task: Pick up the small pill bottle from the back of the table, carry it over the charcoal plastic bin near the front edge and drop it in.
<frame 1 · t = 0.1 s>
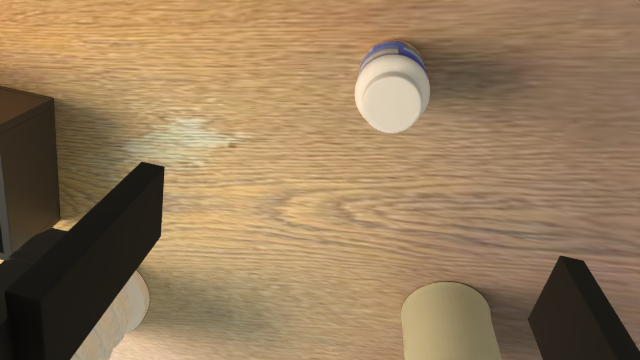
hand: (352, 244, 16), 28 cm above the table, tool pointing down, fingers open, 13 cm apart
can: (444, 315, 53), on the table
pill bottle: (391, 70, 42), on the table
decorative container: (100, 288, 56), on the table
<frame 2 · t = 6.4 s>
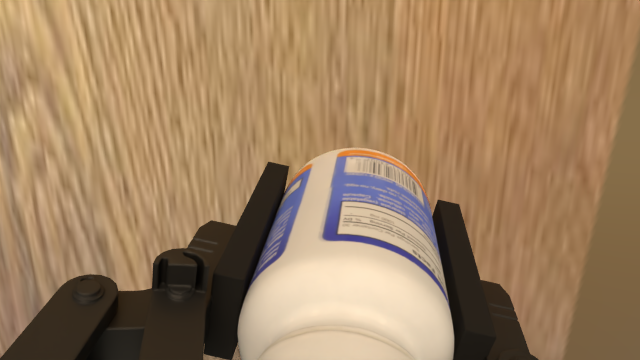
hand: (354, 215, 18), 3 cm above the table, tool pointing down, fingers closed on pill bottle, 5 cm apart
pill bottle: (356, 207, 19), point 3 cm above the table, touching gripper
when the fingers open (7 cm above the table, at t = 12.7 s): pill bottle drops 6 cm, resting on bin.
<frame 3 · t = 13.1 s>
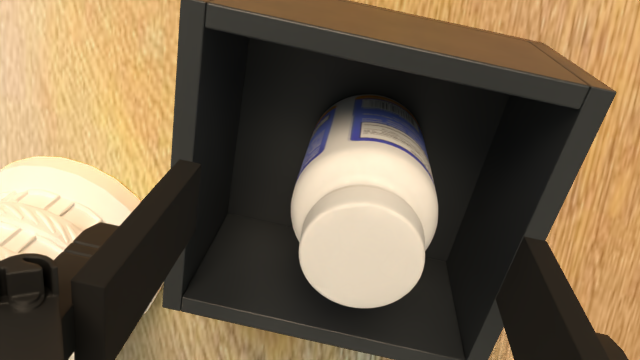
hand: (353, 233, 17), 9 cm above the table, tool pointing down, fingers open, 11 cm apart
bin: (360, 139, 25), on the table
pill bottle: (367, 143, 24), resting on bin
decorative container: (74, 243, 30), on the table
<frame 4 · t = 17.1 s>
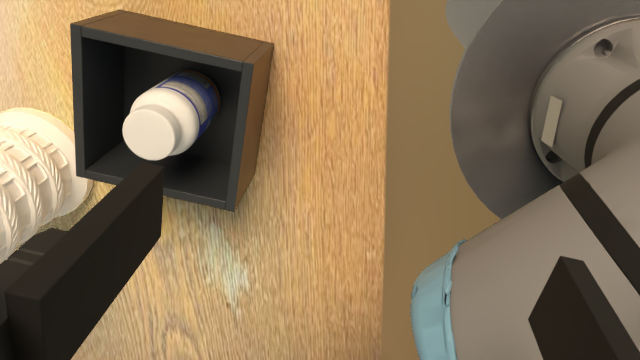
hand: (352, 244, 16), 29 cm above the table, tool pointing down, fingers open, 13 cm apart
bin: (191, 96, 45), on the table
pill bottle: (193, 97, 45), resting on bin
decorative container: (39, 161, 51), on the table
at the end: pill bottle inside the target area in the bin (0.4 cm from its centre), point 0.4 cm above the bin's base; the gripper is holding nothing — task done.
